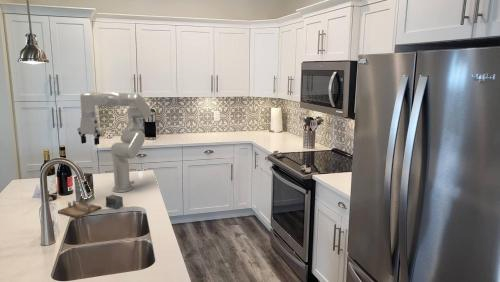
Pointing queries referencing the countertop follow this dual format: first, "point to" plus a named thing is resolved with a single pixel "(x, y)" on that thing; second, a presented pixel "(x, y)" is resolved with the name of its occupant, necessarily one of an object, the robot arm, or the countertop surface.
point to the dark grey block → (114, 201)
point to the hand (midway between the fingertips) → (90, 143)
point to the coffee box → (77, 188)
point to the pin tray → (78, 209)
